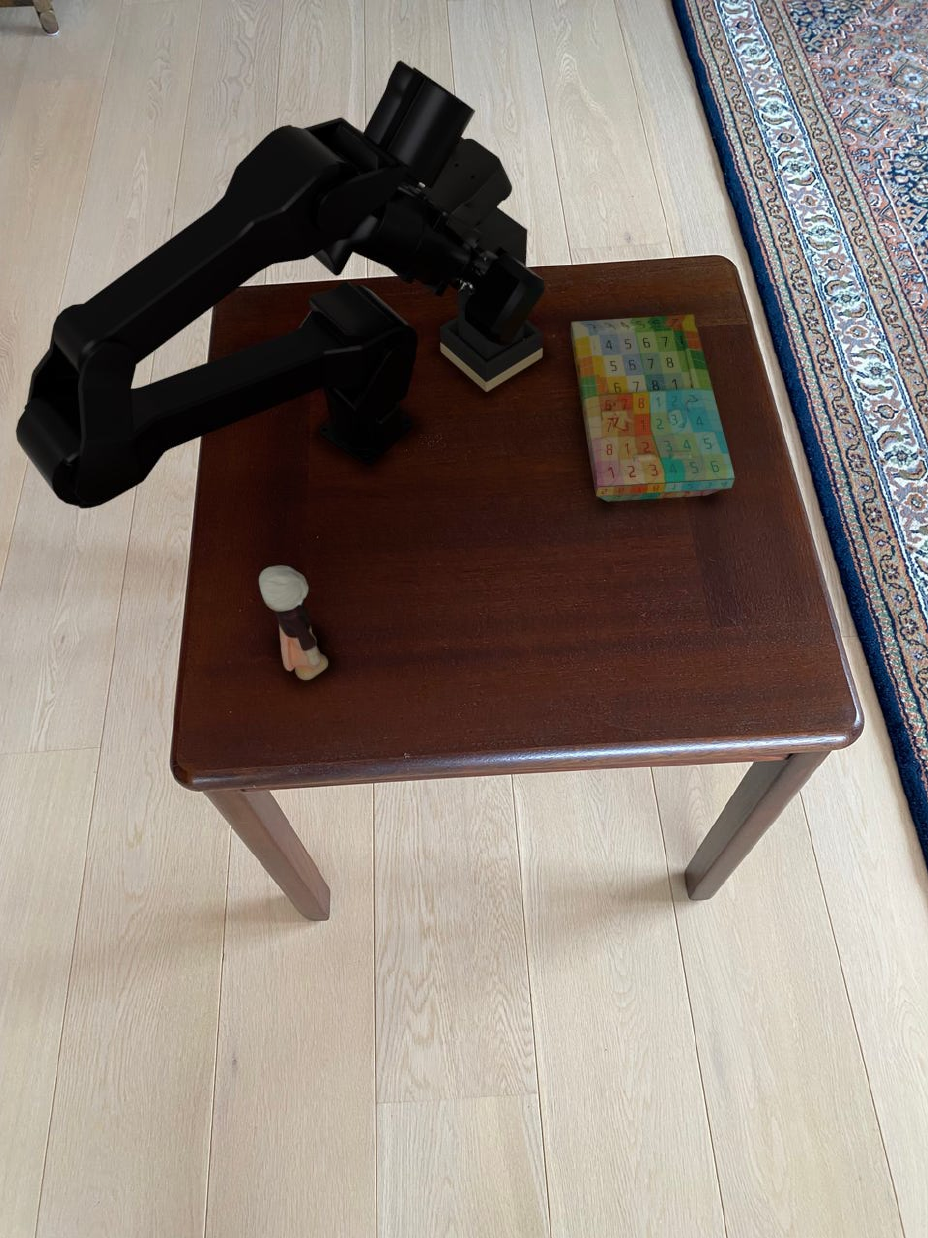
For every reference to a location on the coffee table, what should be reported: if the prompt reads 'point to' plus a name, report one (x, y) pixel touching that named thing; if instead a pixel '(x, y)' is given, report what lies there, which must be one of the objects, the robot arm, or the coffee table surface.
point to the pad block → (495, 234)
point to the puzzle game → (649, 409)
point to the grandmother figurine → (292, 620)
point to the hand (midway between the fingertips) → (502, 282)
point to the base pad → (499, 366)
